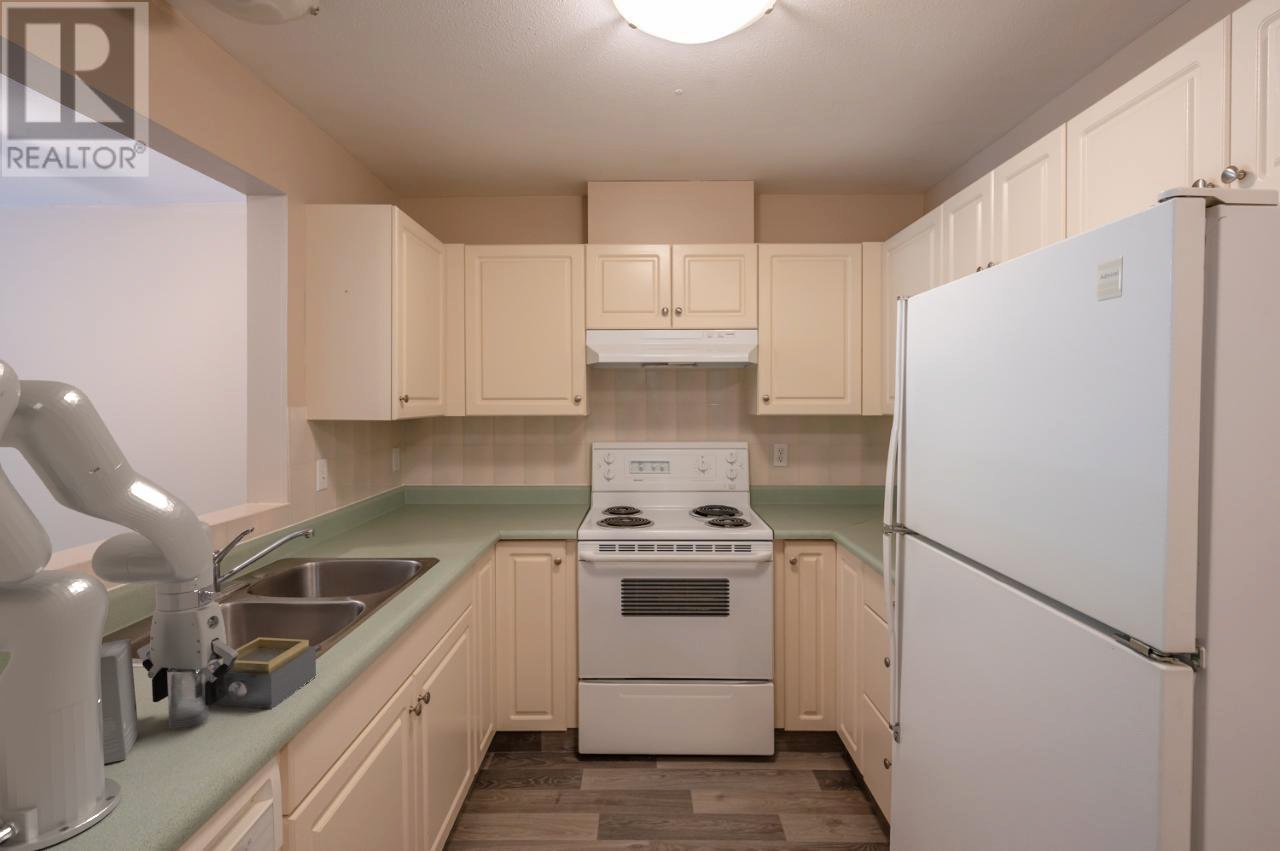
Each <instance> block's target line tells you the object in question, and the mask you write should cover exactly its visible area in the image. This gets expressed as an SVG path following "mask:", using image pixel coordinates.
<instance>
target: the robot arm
mask: <svg viewBox="0 0 1280 851" xmlns="http://www.w3.org/2000/svg"><path fill="white" fill-rule="evenodd" d="M0 448H13V449H16V450H17V451H18V452H19V453H20V454H21V455H22V457H23V458H24V459H25V461H26V462H27V464H29V466H30V467H31V468H32V470H33V471H34V472H35V474H36V475H37V477H38V478H39V479H40V480H41V481H42V483H43V485H44V486H45V487H46V489H47V490H48V492H49V493H50V495H51V496H52V497H53V499H54V500H55V501H57V503H58V504H60V506H63V507H65V508H67V509H68V510H69V509H70V510H71V511H75V512H77V513H81V514H83V515H85V516H89V517H91V518H96V519H98V520H103V521H105V522H106V521H107V522H110V523H114V524H116V525H120V526H122V527H124V528H127V529H130V530H133V531H130V532H125V533H124V532H123V533H119V534H116V535H114V536H112V537H110V538H108V539H106V540H105V541H103V542H102V543H101V544H100V545H99V546H98V547H97V548H96V549H95V551H94V552H93V555H92V557H91V568H92V571H93V573H94V574H95V575H96V577H98V578H99V579H98V578H96V577H94V576H92V575H90V574H88V573H84V572H80V571H74V570H64V569H62V570H61V569H59V570H57V569H54V570H53V569H50V570H49V569H45V568H46V567H47V566H48V564H49V562H50V560H51V559H52V554H53V546H52V545H53V544H52V542H51V539H50V535H49V534H48V532H47V530H46V529H45V527H44V526H43V525H42V523H41V521H40V520H39V518H38V517H37V516H36V515H35V513H34V512H33V511H32V509H31V508H30V507H29V505H28V504H27V502H26V500H24V498H23V497H22V496H21V495H20V493H19V492H18V490H17V489H16V488H15V486H14V485H13V483H12V482H11V481H10V479H9V477H8V475H7V474H6V472H5V470H4V469H3V466H2V464H1V463H0V652H1V653H3V652H4V653H5V652H7V653H10V658H9V661H8V663H7V665H6V666H5V668H4V669H3V671H2V672H1V674H0V851H39V850H41V849H44V848H48V847H50V846H54V845H56V844H58V843H61V842H63V841H66V840H68V839H70V838H72V837H74V836H76V835H78V834H80V833H82V832H84V831H85V830H86V831H87V829H89V828H91V827H92V826H94V825H95V824H97V823H98V822H100V821H101V820H102V819H104V818H105V817H106V816H108V814H110V813H111V812H112V811H113V810H114V808H115V807H116V806H117V805H118V804H119V802H120V800H121V797H122V789H121V788H122V785H120V783H119V782H118V781H116V780H114V779H109V778H106V777H105V775H106V774H105V764H104V746H103V719H102V692H101V661H100V659H101V644H102V642H103V636H104V630H105V627H106V626H105V625H106V621H107V617H108V612H109V606H110V597H109V596H110V595H109V592H108V589H107V587H106V586H105V585H104V583H103V582H102V581H105V582H108V583H112V584H129V585H132V584H137V585H139V584H140V585H141V584H143V585H144V584H154V588H155V589H154V590H155V608H154V610H153V613H152V614H153V615H152V619H151V627H150V639H149V640H150V641H149V643H147V644H145V645H144V646H142V647H140V648H138V649H137V652H136V653H137V654H138V657H139V659H140V660H141V663H142V664H141V665H142V667H143V668H144V669H145V670H146V671H147V677H148V678H149V679H151V687H152V688H151V691H152V692H151V694H152V702H153V703H159V702H160V701H162V700H164V699H166V698H168V682H167V671H168V669H170V668H174V669H175V668H179V669H191V670H200V669H201V671H202V672H203V674H204V675H205V676H206V678H207V679H208V680H209V681H207V682H205V704H206V706H208V707H211V706H214V705H213V704H214V703H216V702H217V701H219V700H221V699H222V698H224V696H225V684H224V675H226V674H227V673H228V671H229V670H230V669H231V668H232V667H233V665H234V662H235V660H236V658H237V656H238V652H237V651H235V650H236V649H234V648H232V647H231V646H229V645H227V635H226V628H225V621H224V616H223V612H222V608H221V606H220V604H219V602H218V601H216V600H217V598H218V592H217V591H215V587H214V586H215V585H214V581H215V580H214V560H213V559H214V556H213V555H214V554H213V553H214V552H213V531H212V530H213V529H212V527H211V525H210V524H209V522H208V523H207V522H206V521H203V520H200V519H199V518H198V516H197V515H196V513H195V511H193V509H192V508H191V507H190V506H189V505H188V504H186V503H185V502H184V501H183V500H181V498H179V497H178V496H176V495H174V494H173V493H171V491H168V490H166V489H165V488H163V487H162V486H161V485H159V484H157V483H156V482H154V481H153V480H151V479H149V478H147V477H145V476H144V475H142V474H140V473H138V472H137V471H136V470H135V469H133V468H132V466H131V464H130V463H129V462H128V460H127V457H126V456H125V455H124V453H123V452H122V450H121V448H120V446H119V444H118V443H117V441H116V440H115V439H114V437H113V435H112V434H111V432H110V430H109V429H108V427H107V425H106V424H105V422H104V421H103V419H102V417H101V415H100V414H99V412H98V411H97V409H96V408H95V406H94V405H93V403H92V401H91V400H90V398H89V397H88V395H86V393H85V392H83V391H82V390H81V389H79V388H78V387H76V386H75V385H71V384H70V383H67V382H66V383H65V382H62V381H57V380H39V379H36V380H35V379H19V377H18V374H17V372H16V371H15V369H14V368H13V367H12V366H11V364H9V363H7V362H6V361H5V360H3V359H2V358H0ZM100 579H101V580H102V581H100ZM222 658H223V662H222V661H221V659H222ZM209 659H210V661H209V662H208V660H209ZM211 666H213V667H215V668H216V670H215V672H214V671H213V670H212V668H213V667H211Z"/></svg>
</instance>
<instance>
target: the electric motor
mask: <svg viewBox="0 0 1280 851" xmlns="http://www.w3.org/2000/svg"><path fill="white" fill-rule="evenodd" d="M209 661H211V660H210V659H209V660H208V662H209ZM207 681H208V679H207V678H206V676H205V675H204V674H203V672H202V671H201V669H200V670H191V669H179V668H175V669H174V668H169V669H168V671H167V682H168V697H167V705H168V707H167V708H168V709H167V710H168V727H169V728H170V729H172V730H183V729H188V728H191V727H195V726H197V725H199V724H202V723H204V722H205V721H206V720H207V719H208V718H209V713H210V712H209V711H210V710H209V706H206V704H205V682H207Z"/></svg>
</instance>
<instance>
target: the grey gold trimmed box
mask: <svg viewBox="0 0 1280 851" xmlns="http://www.w3.org/2000/svg"><path fill="white" fill-rule="evenodd" d="M309 642H310V640H309V639H299V638H298V639H296V638H295V639H294V638H277V637H260V636H259V637H257V638H255V639H253V640H251V641H250V642H248V643H246V644H244V645H241V646H240V647H238V648H237V649H234V650H235V651H237V652H238V656H237V658H236V660H235V662H234V665H233V667H232V668H231V669H230V670H229V671H228V673H227V674H226V675H224V684H225V696H224V698H222V699H221V700H219V701H217V702H216V703H214V704H213V705H212V706H219V707H222V706H223V707H233V708H234V707H237V708H250V709H265V710H272V708H273V709H274V708H276V707H277V706H278V705H279V703H280V704H281V703H282V702H284V701H285V700H286V699H288V698H289V697H291V696H292V695H294V694H295V693H296V692H297V691H296V690H298V689H299V688H300V687H302V686H303V685H304V684H305V683H307V682H308V681H310V680H311V679H312V678H313V677H315V676H316V677H317V667H316V666H317V665H316V664H317V662H316V660H317V656H316V646H313V645H311V646H310V644H309ZM221 661H222V662H223V658H222V659H221ZM211 668H212V670H213V671H214V672H215V670H216V668H215V667H214V666H213V667H211ZM208 681H209V680H208ZM310 682H311V681H310ZM307 684H308V683H307ZM303 687H304V686H303ZM303 687H302V688H303ZM300 689H301V688H300ZM300 689H299V690H300ZM299 690H298V691H299ZM295 691H296V692H295ZM294 692H295V693H294ZM291 694H292V695H291ZM290 695H291V696H290ZM287 697H288V698H287ZM284 699H285V700H284ZM283 700H284V701H283ZM276 705H277V706H276Z"/></svg>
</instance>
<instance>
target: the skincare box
mask: <svg viewBox="0 0 1280 851" xmlns="http://www.w3.org/2000/svg"><path fill="white" fill-rule="evenodd" d="M132 651H133V650H132V638H130V637H129V638H124V639H119V640H113V641H108V642H103V643H102V644H101V659H100V661H101V692H102V719H103V746H104V765H105V764H109V763H114V762H118V761H124V760H126V759H127V757H128V755H129V753H130V751H131V749H132V748H133V746H134V744H135V742H136V740H137V738H138V735H139V722H138V720H139V719H138V711H137V710H138V709H137V701H136V700H137V699H136V686H135V675H134V674H135V673H134V664H133V663H134V662H133V652H132Z"/></svg>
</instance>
